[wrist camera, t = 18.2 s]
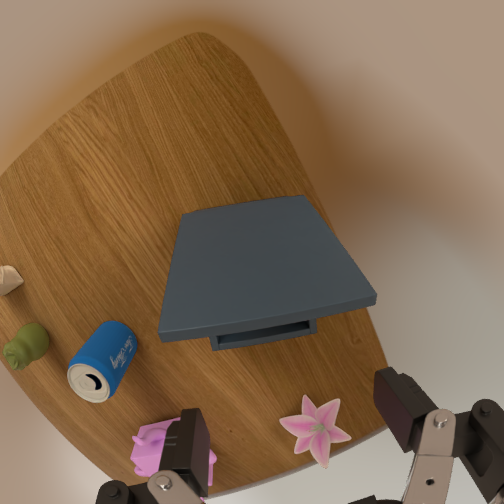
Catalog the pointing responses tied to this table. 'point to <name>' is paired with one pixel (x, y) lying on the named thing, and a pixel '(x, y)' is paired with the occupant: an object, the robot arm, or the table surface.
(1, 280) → the decorative ornament
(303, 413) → the lily
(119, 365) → the beverage can
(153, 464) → the teapot
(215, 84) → the table surface
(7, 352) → the olive green lumpy piece
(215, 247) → the lid
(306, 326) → the chest
